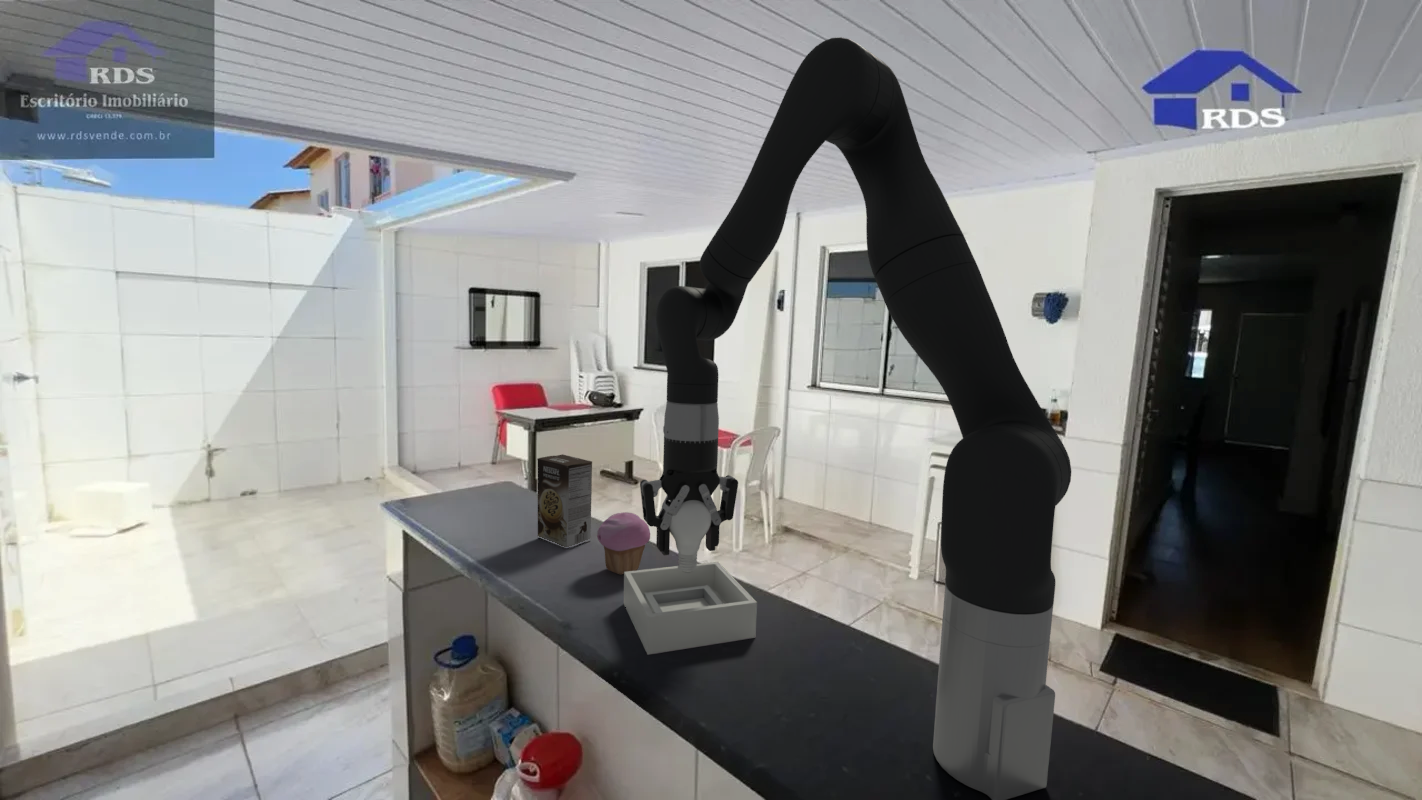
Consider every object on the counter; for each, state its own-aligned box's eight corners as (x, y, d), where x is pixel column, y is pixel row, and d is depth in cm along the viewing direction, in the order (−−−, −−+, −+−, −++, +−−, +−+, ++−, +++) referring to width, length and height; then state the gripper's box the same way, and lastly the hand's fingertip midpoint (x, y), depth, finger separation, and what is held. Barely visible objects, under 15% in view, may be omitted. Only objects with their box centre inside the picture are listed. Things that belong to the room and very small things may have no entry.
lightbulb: (704, 583, 81) (706, 504, 80) (659, 578, 82) (661, 500, 81) (713, 566, 87) (716, 492, 86) (671, 561, 88) (673, 488, 87)
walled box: (755, 637, 81) (756, 602, 80) (647, 654, 76) (648, 617, 75) (717, 591, 95) (717, 561, 94) (623, 603, 90) (624, 571, 89)
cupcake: (633, 557, 108) (633, 503, 107) (658, 573, 101) (660, 516, 100) (588, 568, 103) (588, 511, 102) (612, 585, 96) (613, 525, 95)
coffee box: (535, 539, 116) (535, 457, 115) (562, 530, 122) (562, 453, 120) (566, 550, 111) (566, 465, 109) (592, 541, 116) (593, 459, 114)
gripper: (646, 440, 76) (644, 566, 78) (749, 437, 81) (745, 555, 83) (634, 431, 83) (632, 546, 85) (729, 428, 88) (725, 538, 90)
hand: (688, 550), depth 84 cm, fingers closed on lightbulb, 6 cm apart
